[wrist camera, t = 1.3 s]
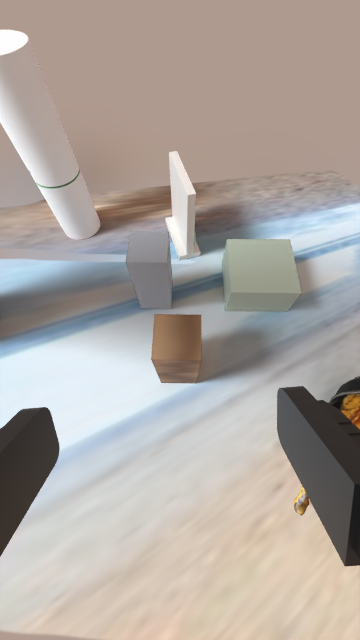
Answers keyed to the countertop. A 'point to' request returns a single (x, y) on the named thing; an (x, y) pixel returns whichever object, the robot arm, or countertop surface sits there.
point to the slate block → (150, 268)
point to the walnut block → (177, 347)
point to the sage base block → (259, 275)
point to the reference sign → (182, 210)
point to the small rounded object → (356, 403)
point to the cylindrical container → (42, 137)
